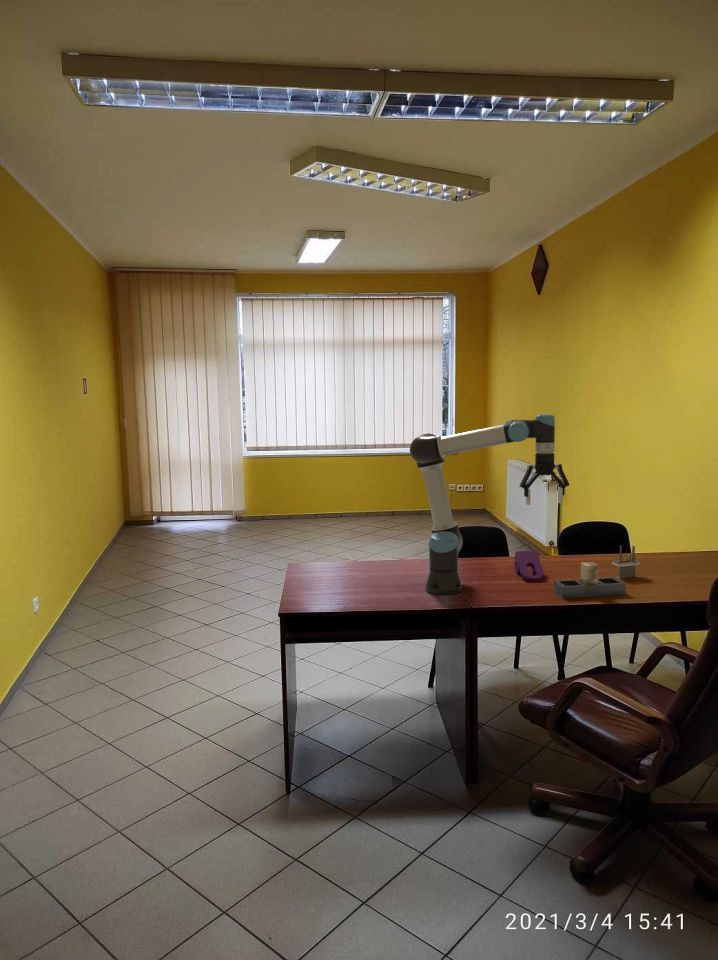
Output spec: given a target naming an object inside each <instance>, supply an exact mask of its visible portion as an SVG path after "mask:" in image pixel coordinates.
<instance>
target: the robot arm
mask: <svg viewBox="0 0 718 960" xmlns="http://www.w3.org/2000/svg"><path fill="white" fill-rule="evenodd" d="M555 433H556V421H555V416H554V415H553V414H537V415H535V419H510V420H509V419H507V420H506V421H505V424H501V425H500V424H499V425H496V426H489V427H486V428H481V429H476V430H470V431H466V432H461V433H460V432H459V433H457V434H456V433H455V434H451V435H450V434H449V435H445V436H441V435H436V434H434V433H423V434H420V435H419V436H416V437H415V438H414V439H413V440H412V441H411V443H410V445H409V453H410V456H411V458H412V459H413V460H414V462H415V461H416V466H417V469H419V470H420V471H421V473H422V476H423V482H424V487H425V492H426V496H427V499H428V504H429V509H430V514H431V518H432V523H433V525H432V527H431V535H430V536H429V538H428V539H429V540H428V546H429V547H428V548H429V551H428V553H429V554H428V555H429V562H428V563H429V572H428V574H427V579H426V581H425V591H426V593H427V592H428V593H430V594H432V595H440V596H450V595H456V594H459V593H461V592H462V591H463V583H462V581H461V577H460V574H459V569H458V567H459V565H458V564H459V563H458V562H459V559H458V557H459V556H458V555H459V552H460V551H461V549H462V548H463V545H464V540H463V535H462V533H461V532H460V528H459V524H458V523H457V522H456V521H454V516H453V513H452V509H451V503H450V499H449V495H448V490H447V485H446V480H445V476H444V475H445V474H444V472H443V465H444V463H445V457H446V456H450V455H453V454H461V453H465V452H469V451H474V450H479V449H484V448H490V447H494V446H499V445H505V444H510V443H520V442H524V441H525V440H526V439H535V443H534V445H535V447H534V448H535V452H536V453H535V454H534V460H535V461H534V464H527V469H526V471H525V473H524V476H523V478H522V480H521V481H520V484H519V488H522V489H523V496H524V497H525V498H526V499H525V505H528V506H531V489H530V488H531V486H532V485H533V484H534V482H535V481H536V480H537V479H538V478H539V477H541V476H542V477H543V476H544V477H545V476H551V477H552V479H553V480H554V481H555V483H557V485H558V486H559V487H557V488H558V489H557V503H558V504H561V505H562V504H563V496H564V495H565V489H566V487H569V486H570V483H569V481H568V478H567V475H566V474H565V472H564V470H563V464H561V463H556V464H555V453H554V452H555V444H556V443H555V441H556V440H555V439H556V438H555V437H556V434H555ZM555 469H556V470H557V472H558V474H559V476H560V478H559V476H558V475H557V474H556V472H554V470H555ZM534 470H535V471H534ZM533 471H534V472H533ZM532 472H533V474H532ZM531 474H532V476H531Z"/></svg>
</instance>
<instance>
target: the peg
mask: <svg viewBox="0 0 718 960" xmlns="http://www.w3.org/2000/svg"><path fill="white" fill-rule="evenodd" d="M598 578H599V565H598V564H597V563H595V562H593V561H588V562H581V563H580V579H581V581H580V582H581V583H583V584H584V585H593V584H598Z"/></svg>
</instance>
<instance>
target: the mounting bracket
mask: <svg viewBox="0 0 718 960" xmlns="http://www.w3.org/2000/svg"><path fill="white" fill-rule="evenodd" d="M513 562H514V563H513V565H514V566H513V567H514V572H515V573H516V574H517V573H520V575H521V578H522V579H523V580H525V581H527V582H531V581H536V582H540V581H542V579H543V577H544V569H543V566H542V563H541V560H540V558H539V554H538V552H537V550H522V551H520V550H519V551H518V550H517V551H515V552H514V561H513ZM528 567H529V569H528ZM529 570H530V572H531V574H535V575H531V574H530V572H529Z"/></svg>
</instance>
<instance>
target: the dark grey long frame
mask: <svg viewBox="0 0 718 960" xmlns="http://www.w3.org/2000/svg"><path fill="white" fill-rule="evenodd" d="M580 581H581V578H579V579H578V578H576V579H560V580H553V587H552V588H553V592H554V593H555V595H557V596H558V597H560V598H561V599H572V598H574V599H575V598H589V597H593V598H594V597H606V596H609V597H610V596H621V595H623V596H624V595H626V592H627V590H626V589H627V586H626V585H627V583H626V582H624V581H622V580H620V579H619V578H617V577H615V576H614V577H598V584H593V585H584V584H583V583H581V582H580Z"/></svg>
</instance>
